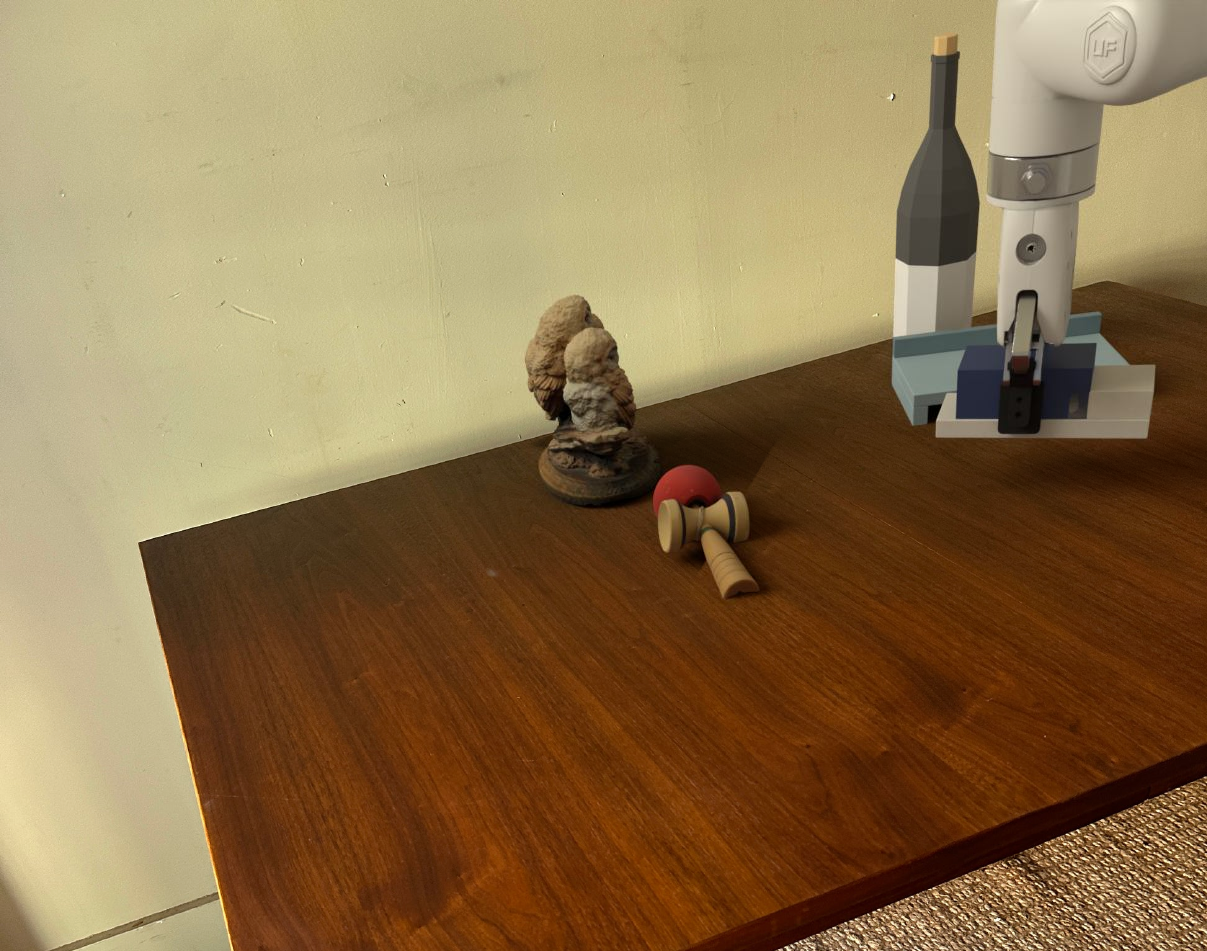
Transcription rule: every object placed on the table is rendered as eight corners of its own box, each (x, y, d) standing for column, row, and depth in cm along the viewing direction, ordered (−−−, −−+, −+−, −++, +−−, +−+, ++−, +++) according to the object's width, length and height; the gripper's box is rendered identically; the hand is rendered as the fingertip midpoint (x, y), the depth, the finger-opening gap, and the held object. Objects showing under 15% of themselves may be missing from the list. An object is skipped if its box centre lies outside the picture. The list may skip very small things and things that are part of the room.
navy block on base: (1148, 409, 97) (1158, 340, 93) (1147, 438, 93) (1157, 367, 89) (946, 409, 103) (948, 344, 99) (935, 437, 98) (937, 371, 95)
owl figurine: (685, 496, 111) (668, 307, 100) (563, 524, 110) (533, 336, 99) (634, 429, 125) (614, 256, 114) (525, 453, 124) (495, 281, 113)
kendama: (797, 610, 95) (726, 494, 108) (785, 549, 91) (712, 434, 103) (707, 646, 96) (646, 525, 108) (690, 586, 91) (628, 467, 103)
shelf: (1090, 374, 121) (1099, 310, 117) (1126, 416, 113) (1137, 348, 109) (891, 398, 123) (892, 336, 119) (911, 441, 114) (914, 375, 110)
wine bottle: (934, 378, 125) (951, 44, 107) (876, 362, 131) (883, 42, 112) (985, 354, 129) (1010, 27, 110) (927, 340, 134) (942, 25, 115)
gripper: (1089, 201, 79) (1063, 460, 90) (1103, 142, 91) (1078, 376, 102) (972, 208, 82) (961, 459, 93) (1000, 150, 94) (987, 378, 105)
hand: (1022, 413), depth 98 cm, fingers closed on navy block on base, 6 cm apart
